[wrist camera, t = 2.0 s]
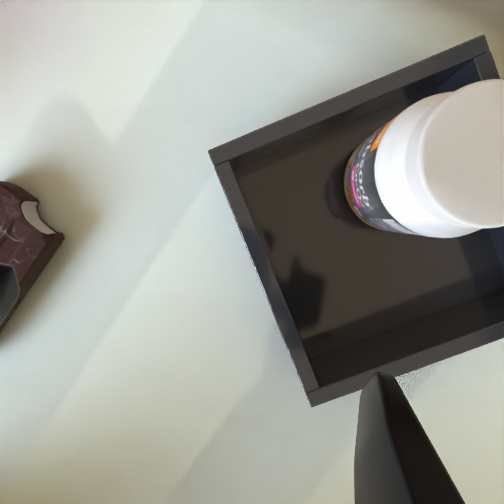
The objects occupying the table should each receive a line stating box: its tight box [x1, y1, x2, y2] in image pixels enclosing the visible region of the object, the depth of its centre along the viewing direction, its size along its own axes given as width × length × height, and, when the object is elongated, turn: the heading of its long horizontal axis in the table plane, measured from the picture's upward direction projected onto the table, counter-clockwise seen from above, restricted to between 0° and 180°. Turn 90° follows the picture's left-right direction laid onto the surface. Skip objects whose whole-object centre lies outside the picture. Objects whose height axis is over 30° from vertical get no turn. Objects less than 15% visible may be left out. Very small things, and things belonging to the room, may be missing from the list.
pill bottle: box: [344, 79, 504, 238], centre depth 17 cm, size 6×6×10 cm
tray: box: [208, 35, 504, 407], centre depth 20 cm, size 14×14×4 cm
